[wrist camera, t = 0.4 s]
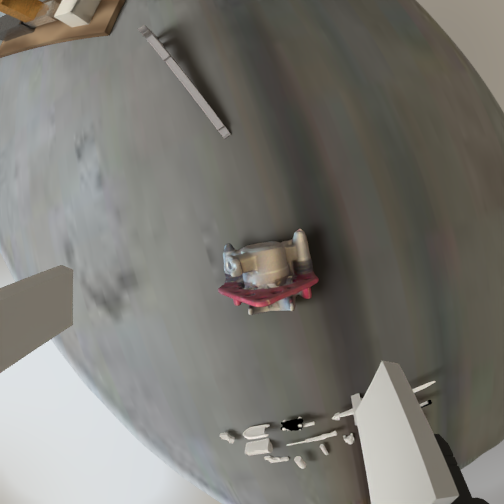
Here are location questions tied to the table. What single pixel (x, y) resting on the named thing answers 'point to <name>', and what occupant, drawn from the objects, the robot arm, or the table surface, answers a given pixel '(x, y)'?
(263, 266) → the brake caliper
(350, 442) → the miniature set
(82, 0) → the socket block
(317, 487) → the table surface
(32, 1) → the stacked block assembly
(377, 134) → the table surface
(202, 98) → the caliper
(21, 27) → the outer sleeve
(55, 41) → the base board
